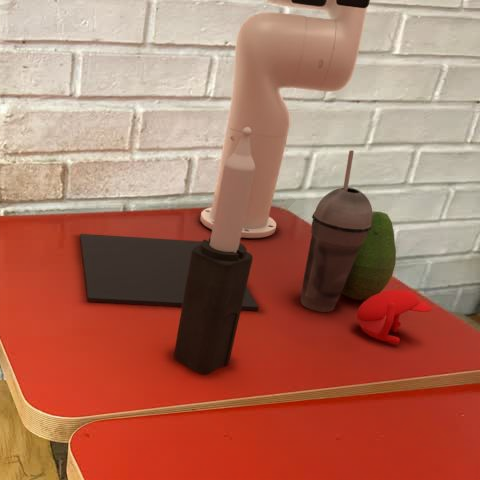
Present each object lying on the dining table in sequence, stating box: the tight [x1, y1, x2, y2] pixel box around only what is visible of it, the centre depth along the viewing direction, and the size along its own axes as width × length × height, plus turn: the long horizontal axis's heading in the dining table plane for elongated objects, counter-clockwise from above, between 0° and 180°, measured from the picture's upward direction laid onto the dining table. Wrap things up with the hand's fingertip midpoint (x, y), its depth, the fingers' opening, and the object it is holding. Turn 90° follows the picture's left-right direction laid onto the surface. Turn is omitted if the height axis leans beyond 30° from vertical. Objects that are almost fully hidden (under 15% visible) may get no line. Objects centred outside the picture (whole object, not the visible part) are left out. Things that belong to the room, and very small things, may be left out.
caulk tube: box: [173, 127, 255, 375], centre depth 71 cm, size 5×5×25 cm
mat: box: [79, 233, 259, 312], centre depth 97 cm, size 22×22×1 cm
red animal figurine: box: [356, 289, 433, 345], centre depth 85 cm, size 8×6×6 cm
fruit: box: [341, 210, 397, 301], centre depth 92 cm, size 8×8×12 cm
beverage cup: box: [300, 149, 373, 313], centre depth 87 cm, size 7×7×20 cm
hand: (330, 5), depth 65 cm, fingers open, 9 cm apart
